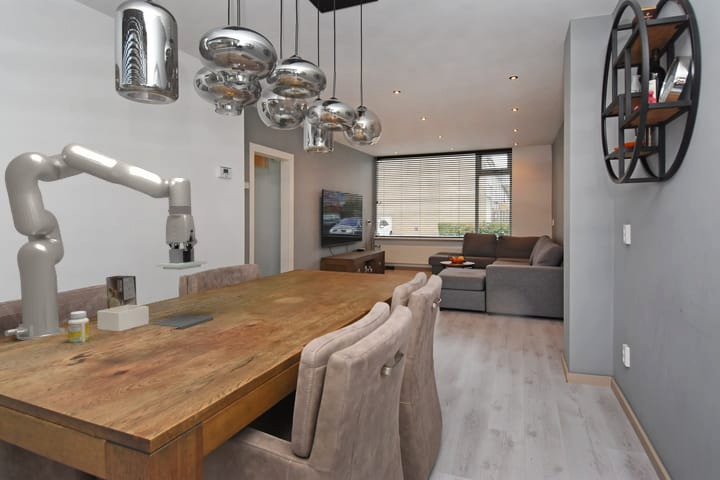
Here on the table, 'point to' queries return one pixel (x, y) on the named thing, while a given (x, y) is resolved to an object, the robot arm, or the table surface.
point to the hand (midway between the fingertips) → (182, 261)
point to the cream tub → (123, 317)
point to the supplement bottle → (78, 327)
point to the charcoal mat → (183, 321)
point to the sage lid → (180, 260)
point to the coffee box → (121, 291)
